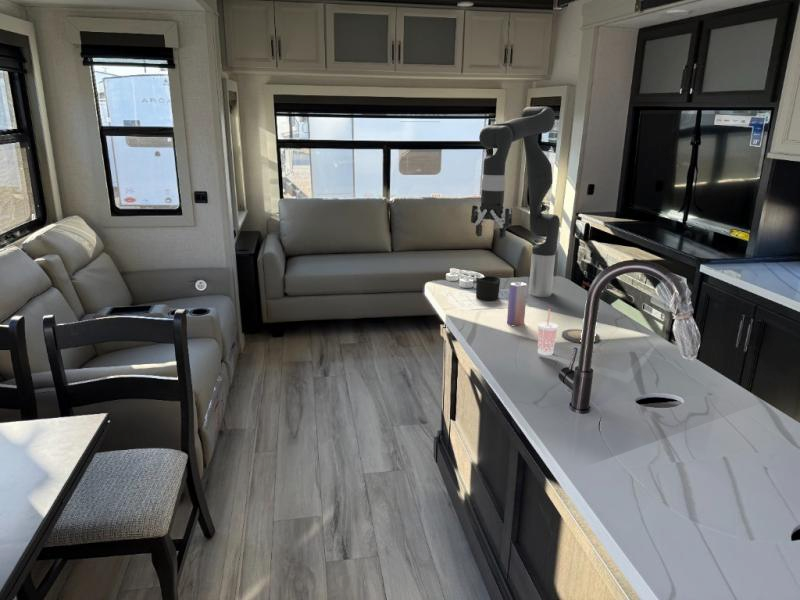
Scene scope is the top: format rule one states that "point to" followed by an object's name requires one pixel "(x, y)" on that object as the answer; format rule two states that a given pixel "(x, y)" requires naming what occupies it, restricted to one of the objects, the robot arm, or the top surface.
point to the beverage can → (516, 303)
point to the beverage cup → (546, 336)
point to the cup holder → (466, 280)
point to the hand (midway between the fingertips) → (490, 237)
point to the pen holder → (487, 288)
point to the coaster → (575, 335)
